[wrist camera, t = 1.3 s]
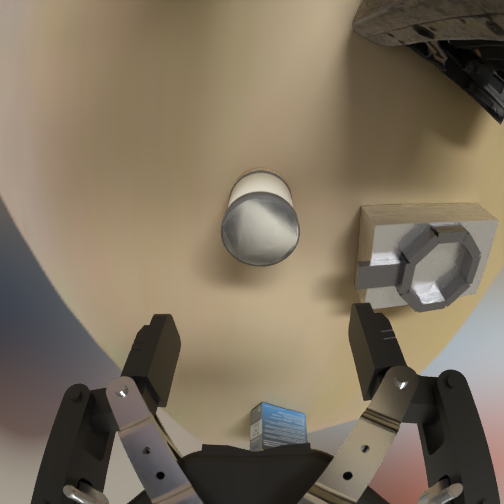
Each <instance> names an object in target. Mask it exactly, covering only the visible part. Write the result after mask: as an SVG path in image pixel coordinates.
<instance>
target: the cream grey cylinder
mask: <svg viewBox="0 0 504 504" xmlns="http://www.w3.org/2000/svg"><path fill="white" fill-rule="evenodd" d="M299 236H300V228H299V223H298V219H297V215H296V213H295V211H294V207H293V203H292V196H291V192H290V189H289V187H288V184H287V182H286V181H285V179H284V178H283V177H282V176H281V175H280V174H278V173H277V172H275V171H273V170H271V169H267V168H255V169H251V170H249V171H246V172H245V173H243V174H242V175H241V176H240V177H239V178H238V179H237V180H236V182H235V184H234V186H233V188H232V191H231V195H230V201H229V205H228V209H227V211H226V212H225V215H224V218H223V222H222V227H221V237H222V241H223V243H224V246H225V247H226V249H227V250H228V252H229V253H230V254H231V255H232V256H233V257H234V258H236V259H237V260H239V261H240V262H243V263H245V264H248V265H252V266H270V265H274V264H276V263H279V262H281V261H283V260H284V259H286V258H287V257H288V256H289V255H290V254H291V253H292V252H293V251H294V249H295V248H296V246H297V244H298V241H299Z"/></svg>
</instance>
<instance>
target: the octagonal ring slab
mask: <svg viewBox="0 0 504 504" xmlns="http://www.w3.org/2000/svg"><path fill="white" fill-rule="evenodd" d="M498 221H499V220H498V219H497V218H495V217H494V216H493V215H492V214H491V213H489V212H488V211H487V210H486V209H484V208H483V207H482V206H481V205H479V204H478V203H434V204H392V205H365V206H361V218H360V232H359V244H358V255H357V265H356V274H355V283H354V286H355V288H356V291H357V294H358V296H359V299H360V302H361V303H366V302H369V303H370V304H371V306H372V309H378V308H386V307H394V306H402V305H410V306H411V307H412V308H413V309H414V310H415V311H416V312H417V311H418V312H425V311H431V310H437V309H443V308H445V306H447V307H448V306H449V305H450V304H451V303H452V302H454V301H455V300H456V299H457V298H458V297H461V296H466V295H472V294H476V292H477V289H478V286H479V284H480V281H481V278H482V275H483V272H484V269H485V266H486V263H487V260H488V257H489V254H490V250H491V247H492V243H493V240H494V236H495V232H496V229H497V225H498Z"/></svg>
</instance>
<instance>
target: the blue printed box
mask: <svg viewBox="0 0 504 504" xmlns="http://www.w3.org/2000/svg"><path fill="white" fill-rule="evenodd" d="M301 443H308V442H307V429H306V416H305V414H304V413H300V412H296V411H291V410H287V409H284V408H280V407H277V406H273V405H270V404H267V403H263V402H262V403H261V404H259V405H258V406H257V407H255V408H254V409H253V410H252V411H251V430H250V451H261V450H265V449H269V448H273V447H277V446H280V445H287V444H301Z"/></svg>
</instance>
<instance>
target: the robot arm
mask: <svg viewBox="0 0 504 504" xmlns="http://www.w3.org/2000/svg"><path fill="white" fill-rule="evenodd" d="M348 333H349V342H350V346H351V350H352V354H353V358H354V362H355V366H356V370H357V374H358V378H359V382H360V387H361V391H362V396H363V400H364V401H367V400H371V402H370V404H369V406H368V407H367V409H366V411H365V412H363V414H362V415H361V417H360V418H359V420H358V422H357V423H356V425H355V426H354V428H353V430H352V431H351V433H350V434H349V436H348V437H347V439H346V440H345V442H344V443H343V445H342V447H341V448H340V450H339V451H338V453H337V454H336V455H335V457H334V456H332V455H330V454H328V453H326V452H323V451H319V450H316V449H311V448H310V443H301V444H287V445H280V446H277V447H273V448H269V449H265V450H261V451H249V450H245V449H241V448H236V447H232V446H229V445H207V444H203V445H202V450H201V451H197V452H193V453H191V454H188V455H186V456H184V457H183V456H182V455H181V453H180V452H179V451H178V449H177V448H176V446H175V445H174V443H173V442H172V440H171V438H170V437H169V435H168V433H167V432H166V430H165V428H164V426H163V425H162V423H161V421H160V419H159V418H158V416H157V414H156V411H157V407H166V405H167V401H168V397H169V392H170V388H171V384H172V380H173V376H174V372H175V368H176V364H177V360H178V356H179V352H180V348H181V341H180V336H179V334H178V331H177V328H176V326H175V323H174V320H173V317H172V315H171V314H154V315H153V317H152V320H151V322H150V325H144V326H143V328H142V329H141V330H140V331H139V332H138V333H137V335H136V338H135V340H134V344H133V345H132V348H131V351H130V353H129V355H128V358H127V361H126V363H125V366H124V368H123V371H122V374H121V376H120V377H117V378H115V379H113V380H112V381H111V382H110V383H109V384H108V386H107V388H102V389H96V390H89V389H88V387H87V386H85V385H84V384H75V385H72V386H71V387H69V388H68V389H67V391H66V392H65V394H64V397H63V399H62V402H61V405H60V407H59V410H58V413H57V416H56V418H55V421H54V424H53V427H52V430H51V433H50V436H49V439H48V442H47V445H46V448H45V452H44V455H43V458H42V462H41V466H40V469H39V472H38V476H37V480H36V484H35V488H34V492H33V496H32V500H31V504H109V501H108V499H107V498H106V496H105V495H104V494H103V490H104V485H105V479H106V474H107V469H108V464H109V460H110V455H111V451H112V446H113V442H114V437H115V433H116V431H119V432H118V434H119V437H120V440H121V442H122V444H123V447H124V449H125V451H126V453H127V455H128V457H129V459H130V462H131V464H132V466H133V467H134V470H135V472H136V474H137V476H138V478H139V479H140V481H141V483H142V485H143V487H144V489H145V490H143V491H142V492H141V493H140V494H138V495H137V496H136V497H135V498H134V499H132V500H131V501H130V502H129V503H127V504H390V503H389V502H387V501H386V500H385V499H384V498H382V497H381V496H380V495H379V494H378V493H376V492H375V491H374V490H373V489H372V488H370V487H369V486H368V484H369V482H370V481H371V479H372V478H373V476H374V474H375V473H376V471H377V469H378V467H379V466H380V464H381V462H382V460H383V459H384V457H385V455H386V453H387V451H388V450H389V448H390V446H391V444H392V442H393V440H394V438H395V436H396V434H397V432H398V430H399V428H400V423H401V422H404V423H417V426H418V430H419V435H420V440H421V445H422V450H423V456H424V461H425V467H426V473H427V480H428V487H429V488H428V489H427V490H426V491H424V492H423V493H422V495H421V496H420V498H419V500H418V504H500V499H499V493H498V487H497V482H496V477H495V473H494V468H493V464H492V460H491V456H490V452H489V448H488V444H487V441H486V437H485V434H484V430H483V427H482V424H481V420H480V417H479V414H478V411H477V408H476V405H475V403H474V400H473V397H472V394H471V391H470V388H469V386H468V383H467V381H466V378H465V377H464V376H463V375H462V374H461V373H460V372H458V371H456V370H446V371H444V372H442V373H441V374H440V375H439V377H427V376H420V375H417V374H416V372H415V371H414V370H413V369H411V368H410V367H408V366H407V365H406V362H405V360H404V357H403V354H402V352H401V349H400V346H399V344H398V341H397V339H396V338H395V334H394V331H393V330H392V326H391V324H390V322H389V320H388V319H387V318H386V317H385V316H384V315H383V314H382V313H374V312H373V309H372V306H371V304H370V303H369V302H366V303H357V304H353V305H352V309H351V316H350V322H349V330H348Z"/></svg>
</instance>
